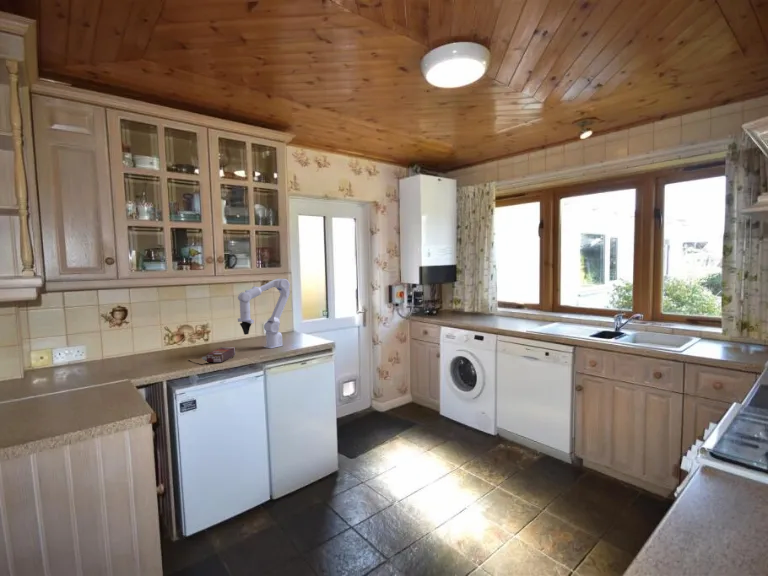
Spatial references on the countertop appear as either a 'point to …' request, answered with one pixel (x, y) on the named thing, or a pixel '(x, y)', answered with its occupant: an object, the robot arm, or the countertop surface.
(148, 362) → the countertop surface
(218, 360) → the supplement box
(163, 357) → the countertop surface
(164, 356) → the countertop surface
